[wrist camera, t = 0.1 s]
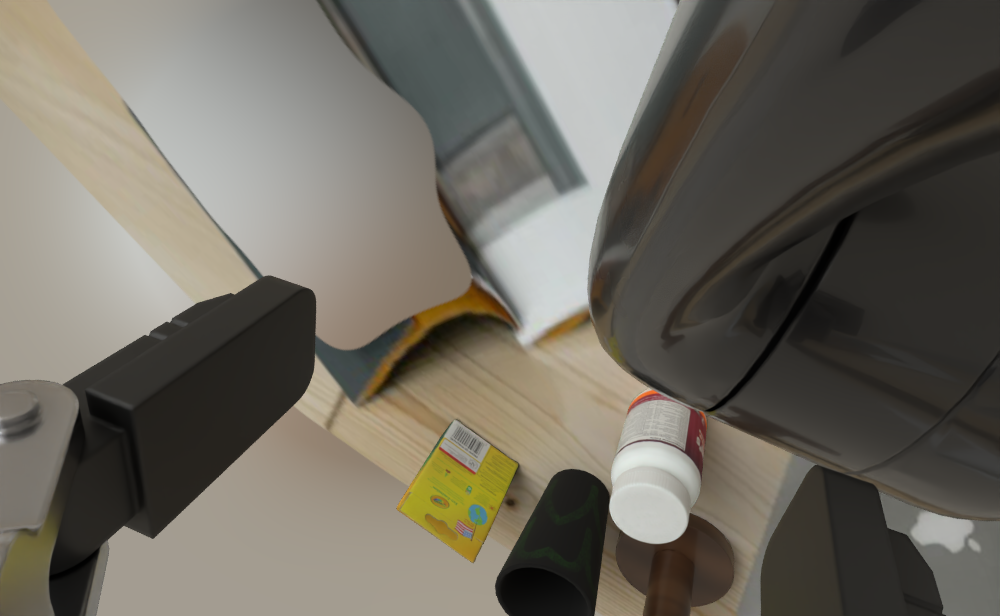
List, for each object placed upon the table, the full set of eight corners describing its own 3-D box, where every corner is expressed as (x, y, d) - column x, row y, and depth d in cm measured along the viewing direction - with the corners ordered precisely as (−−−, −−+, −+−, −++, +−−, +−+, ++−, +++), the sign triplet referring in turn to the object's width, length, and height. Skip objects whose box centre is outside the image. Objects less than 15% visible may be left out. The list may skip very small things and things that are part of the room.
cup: (619, 534, 59) (592, 650, 49) (538, 517, 61) (497, 624, 51) (622, 468, 56) (594, 578, 46) (537, 452, 58) (492, 554, 48)
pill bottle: (703, 453, 52) (692, 560, 43) (626, 440, 54) (600, 540, 45) (711, 389, 50) (702, 488, 40) (630, 377, 51) (602, 470, 42)
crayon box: (441, 435, 61) (382, 524, 51) (455, 417, 59) (397, 505, 50) (504, 482, 61) (457, 580, 51) (520, 465, 59) (475, 562, 50)
